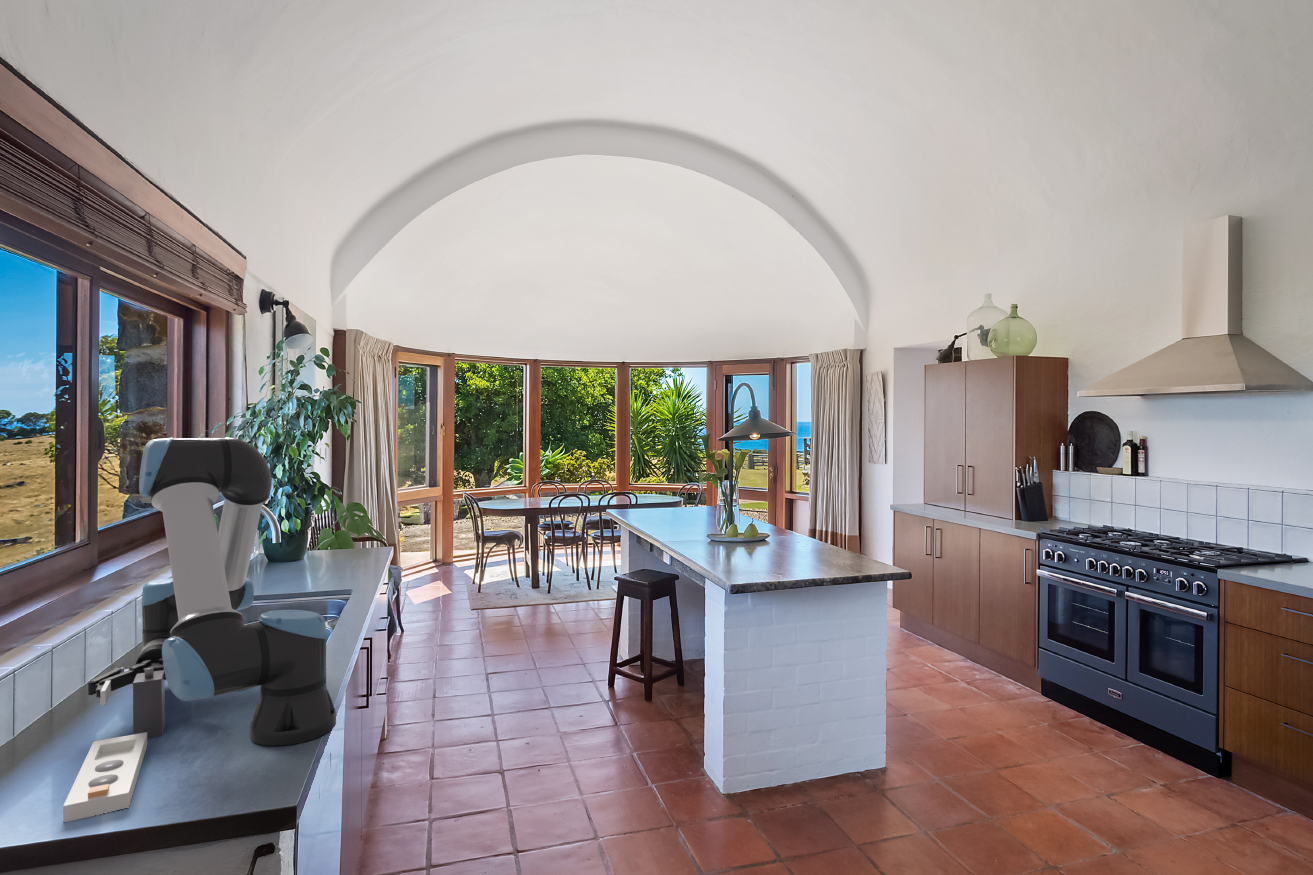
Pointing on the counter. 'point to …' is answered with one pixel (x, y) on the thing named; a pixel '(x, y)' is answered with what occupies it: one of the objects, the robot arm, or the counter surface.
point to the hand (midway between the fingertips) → (147, 691)
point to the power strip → (106, 777)
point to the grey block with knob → (149, 703)
